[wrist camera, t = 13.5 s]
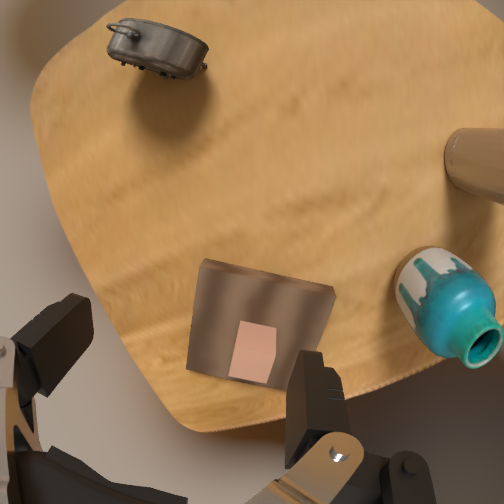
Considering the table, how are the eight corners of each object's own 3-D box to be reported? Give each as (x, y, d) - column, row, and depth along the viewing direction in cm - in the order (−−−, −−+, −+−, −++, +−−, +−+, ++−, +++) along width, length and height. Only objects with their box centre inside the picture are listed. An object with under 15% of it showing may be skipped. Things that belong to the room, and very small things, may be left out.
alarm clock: (220, 58, 32) (183, 7, 17) (202, 95, 34) (153, 65, 19) (148, 38, 32) (84, -5, 16) (131, 72, 33) (58, 45, 18)
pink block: (276, 327, 41) (275, 355, 35) (268, 355, 43) (266, 383, 37) (240, 320, 41) (234, 347, 35) (233, 348, 43) (228, 375, 37)
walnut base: (332, 286, 41) (336, 296, 39) (296, 379, 48) (297, 392, 45) (204, 258, 41) (199, 266, 39) (190, 357, 48) (185, 369, 45)
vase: (439, 225, 37) (524, 281, 19) (450, 286, 40) (518, 358, 22) (376, 254, 39) (436, 333, 21) (393, 314, 42) (442, 403, 24)
